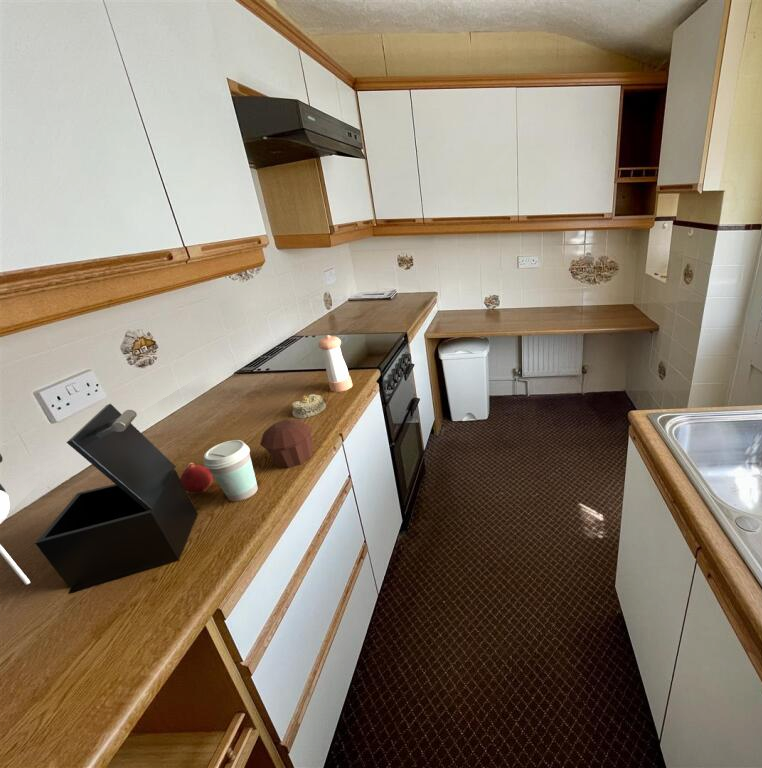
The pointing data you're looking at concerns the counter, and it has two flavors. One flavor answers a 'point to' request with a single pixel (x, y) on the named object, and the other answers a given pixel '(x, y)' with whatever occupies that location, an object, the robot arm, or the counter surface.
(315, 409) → the cake
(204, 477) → the onion
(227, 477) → the coffee cup
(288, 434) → the muffin
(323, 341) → the pepper shaker
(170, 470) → the bin lid
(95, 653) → the counter surface
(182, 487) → the bin
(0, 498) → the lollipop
